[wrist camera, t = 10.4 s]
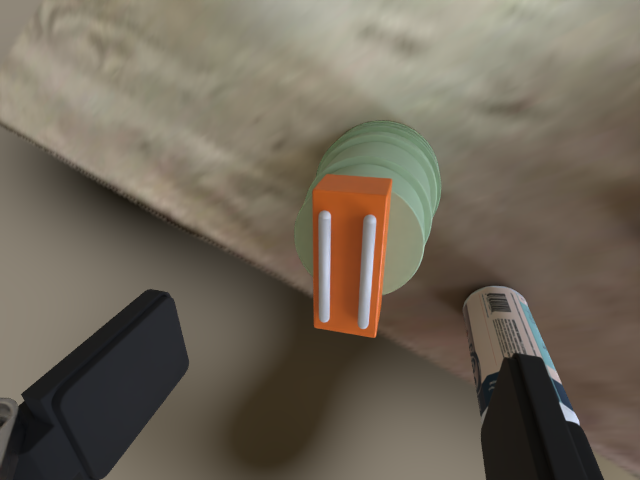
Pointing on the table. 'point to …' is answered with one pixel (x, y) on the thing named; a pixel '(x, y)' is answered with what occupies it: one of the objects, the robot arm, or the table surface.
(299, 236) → the cup stack
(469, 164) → the table surface
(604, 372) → the table surface
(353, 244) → the striped orange block
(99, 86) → the table surface
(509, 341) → the beer can
